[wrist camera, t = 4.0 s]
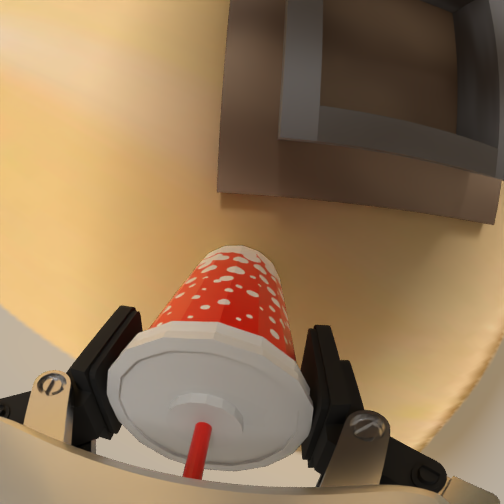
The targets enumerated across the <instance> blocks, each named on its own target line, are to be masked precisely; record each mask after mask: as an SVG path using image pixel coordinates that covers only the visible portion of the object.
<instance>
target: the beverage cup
mask: <svg viewBox="0 0 504 504" xmlns="http://www.w3.org/2000/svg"><path fill="white" fill-rule="evenodd" d="M309 395H310V388H309V386H308V384H307V382H306V380H305V378H304V377H303V375H302V373H301V371H300V369H299V367H298V365H297V363H296V358H295V352H294V347H293V342H292V337H291V332H290V327H289V322H288V317H287V312H286V307H285V302H284V297H283V292H282V287H281V282H280V278H279V276H278V273H277V271H276V269H275V267H274V265H273V263H272V262H271V261H270V260H269V259H267V258H266V257H265V256H264V255H263V254H262V253H261V252H259V251H257V250H254V249H251V248H248V247H246V246H243V245H240V246H223V247H221V248H219V249H216V250H214V251H212V252H210V253H208V254H207V255H206V257H205V258H204V259H203V260H202V261H201V262H200V263H199V264H198V265H197V267H196V268H195V269H194V271H193V272H192V273H191V274H190V276H189V277H188V278H187V280H186V281H185V282H184V283H183V285H182V286H181V287H180V289H179V290H178V291H177V292H176V294H175V295H174V296H173V298H172V299H171V300H170V302H169V303H168V304H167V306H166V307H165V308H164V309H163V311H162V312H161V313H160V315H159V316H158V317H157V319H156V320H155V321H154V323H153V324H152V325H151V327H150V328H149V329H148V330H146V331H143V332H140V333H138V334H137V335H136V336H135V337H134V338H133V340H132V341H131V342H130V343H129V344H128V345H127V347H126V348H125V349H124V350H123V351H122V352H121V354H120V355H119V357H118V358H117V359H116V360H115V362H114V363H113V364H112V365H111V367H110V368H109V370H108V380H107V396H108V399H109V402H110V404H111V406H112V408H113V410H114V413H115V415H116V417H117V419H118V421H119V422H120V423H121V424H122V425H123V426H124V427H125V428H126V429H127V430H128V431H129V432H130V433H131V434H132V435H133V436H134V437H135V438H136V439H137V440H139V442H141V443H142V444H144V445H146V446H147V447H149V448H151V449H153V450H154V451H156V452H158V453H160V454H161V455H163V456H165V457H167V458H168V459H171V460H174V461H177V462H181V463H184V464H185V469H184V473H183V476H182V477H187V478H192V479H199V480H202V475H203V471H204V469H210V470H224V471H240V470H247V469H253V468H258V467H265V466H268V465H270V464H272V463H274V462H276V461H279V460H280V459H283V458H285V457H287V456H289V455H291V454H293V453H294V452H295V451H296V449H297V448H298V447H299V446H300V445H301V444H302V443H303V442H304V440H305V439H306V438H307V437H308V435H309V432H310V429H311V424H312V417H313V409H314V408H313V401H312V399H311V397H310V396H309Z"/></svg>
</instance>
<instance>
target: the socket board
mask: <svg viewBox="0 0 504 504" xmlns="http://www.w3.org/2000/svg"><path fill="white" fill-rule="evenodd" d="M502 180H503V181H504V0H230V9H229V19H228V29H227V40H226V52H225V64H224V77H223V90H222V105H221V121H220V138H219V157H218V178H217V192H221V193H238V194H253V195H267V196H280V197H291V198H303V199H313V200H323V201H333V202H342V203H351V204H360V205H368V206H376V207H384V208H391V209H399V210H406V211H413V212H420V213H426V214H433V215H439V216H445V217H451V218H457V219H463V220H469V221H475V222H480V223H485V224H491V225H494V223H495V218H496V212H497V207H498V201H499V195H500V188H501V181H502Z"/></svg>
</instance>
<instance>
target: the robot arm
mask: <svg viewBox="0 0 504 504" xmlns="http://www.w3.org/2000/svg"><path fill="white" fill-rule="evenodd" d="M140 332H143V331H142V323H141V316H140V312H137V311H136V309H135V308H134V307H129V306H120V307H119V308H118V309H117V310H116V311H115V312H114V314H113V315H112V316H111V317H110V318H109V320H108V321H107V322H106V323H105V325H104V326H103V327H102V328H101V329H100V331H99V332H98V333H97V334H96V336H95V337H94V338H93V339H92V340H91V342H90V343H89V344H88V345H87V347H86V348H85V349H84V350H83V352H82V353H81V354H80V356H79V357H78V358H77V359H76V361H75V362H74V363H73V365H72V366H71V367H70V369H69V370H68V371H67V373H64V372H62V371H57V370H52V371H47V372H44V373H42V374H41V375H39V376H38V377H37V378H36V379H35V381H34V384H33V387H32V391H29V392H25V393H22V394H18V395H14V396H10V397H6V398H2V399H0V504H500V500H499V499H498V497H497V496H496V495H494V494H493V493H491V492H489V491H486V490H484V489H482V488H479V487H477V486H475V485H473V484H470V483H468V482H466V481H464V480H462V479H460V478H457V477H455V476H453V477H452V478H449V477H447V474H446V471H445V469H444V467H443V466H442V465H441V464H440V463H438V462H437V461H435V460H433V459H431V458H429V457H427V456H425V455H424V454H422V453H420V452H418V451H416V450H414V449H412V448H410V447H408V446H407V445H405V444H403V443H401V442H399V441H397V440H396V439H394V438H392V437H390V425H389V423H388V421H387V420H386V419H385V418H384V417H383V416H382V415H380V414H379V413H376V412H374V411H369V410H364V407H363V403H362V400H361V396H360V393H359V390H358V386H357V383H356V380H355V376H354V373H353V370H352V366H351V363H350V361H348V360H340V359H339V355H338V351H337V348H336V344H335V341H334V337H333V334H332V330H331V327H330V326H328V325H315V326H314V329H310V328H309V330H308V335H307V340H306V345H305V350H304V356H303V361H302V365H301V370H300V371H301V373H302V375H303V377H304V378H305V380H306V382H307V384H308V386H309V388H310V395H309V396H310V397H311V399H312V401H313V408H314V409H313V417H312V424H311V429H310V432H309V435H308V437H307V438H306V439H305V440H304V442H303V443H302V444H301V447H302V459H303V460H308V468H314V469H315V470H316V471H317V472H318V473H320V474H321V475H320V478H319V480H318V482H317V485H316V487H264V486H249V485H238V484H228V483H220V482H212V481H205V480H199V479H192V478H187V477H181V476H176V475H171V474H166V473H162V472H157V471H153V470H149V469H145V468H140V467H137V466H133V465H129V464H126V463H122V462H119V461H116V460H112V459H109V458H106V457H103V456H100V455H97V454H96V440H95V439H97V438H99V437H102V438H105V439H109V440H111V438H112V436H113V434H114V433H115V434H117V433H118V432H119V430H120V428H121V425H122V424H121V423H120V422H119V421H118V419H117V417H116V415H115V413H114V410H113V408H112V406H111V404H110V402H109V399H108V396H107V380H108V370H109V368H110V367H111V365H112V364H113V363H114V362H115V360H116V359H117V358H118V357H119V355H120V354H121V352H122V351H123V350H124V349H125V348H126V347H127V345H128V344H129V343H130V342H131V341H132V340H133V338H134V337H135V336H136V335H137V334H138V333H140Z"/></svg>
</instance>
